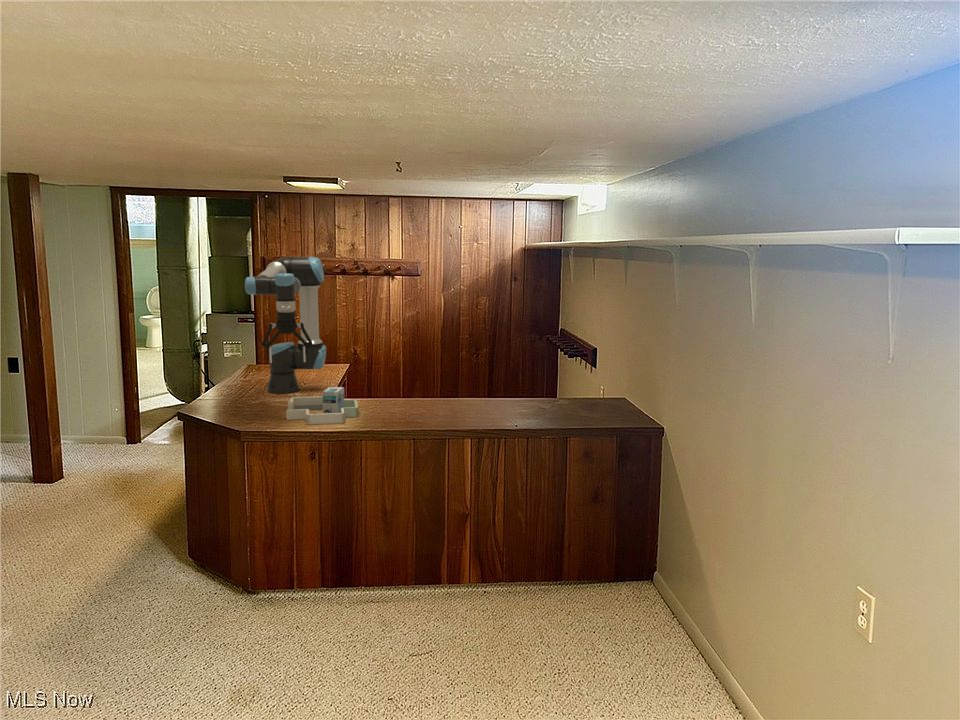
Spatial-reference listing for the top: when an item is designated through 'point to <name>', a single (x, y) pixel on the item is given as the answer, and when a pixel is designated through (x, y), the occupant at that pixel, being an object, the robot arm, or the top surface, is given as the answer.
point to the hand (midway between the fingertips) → (287, 362)
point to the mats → (309, 407)
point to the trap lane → (326, 418)
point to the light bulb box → (333, 400)
